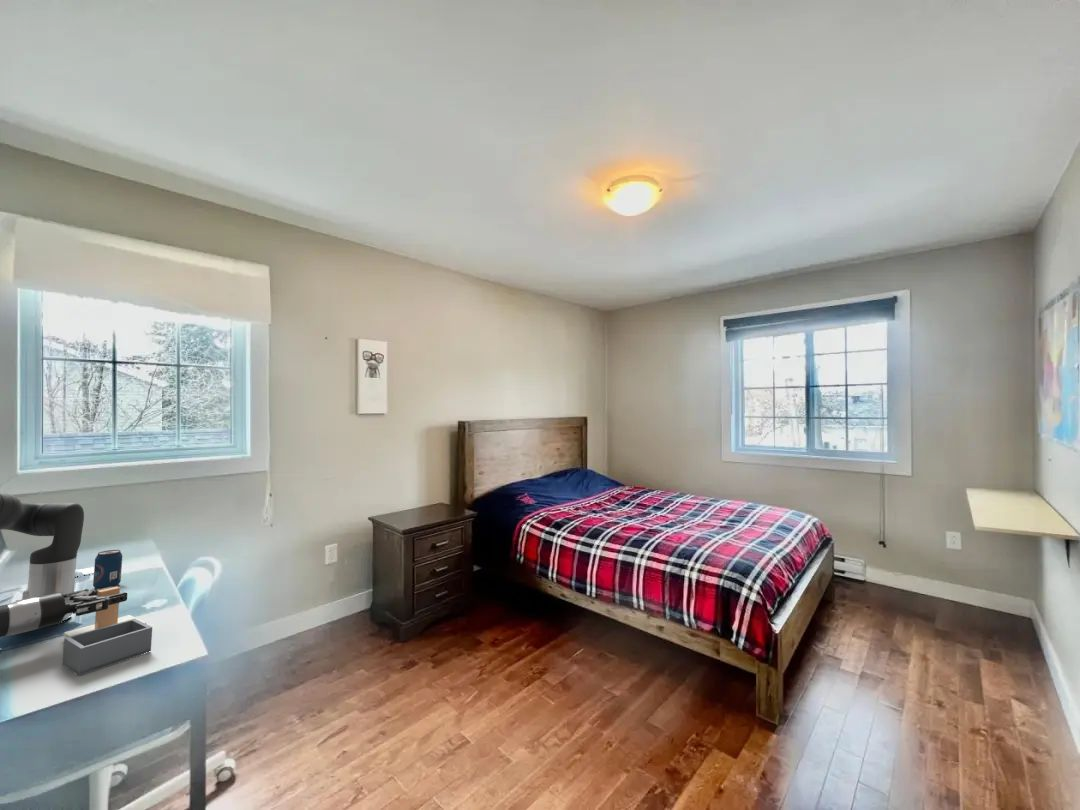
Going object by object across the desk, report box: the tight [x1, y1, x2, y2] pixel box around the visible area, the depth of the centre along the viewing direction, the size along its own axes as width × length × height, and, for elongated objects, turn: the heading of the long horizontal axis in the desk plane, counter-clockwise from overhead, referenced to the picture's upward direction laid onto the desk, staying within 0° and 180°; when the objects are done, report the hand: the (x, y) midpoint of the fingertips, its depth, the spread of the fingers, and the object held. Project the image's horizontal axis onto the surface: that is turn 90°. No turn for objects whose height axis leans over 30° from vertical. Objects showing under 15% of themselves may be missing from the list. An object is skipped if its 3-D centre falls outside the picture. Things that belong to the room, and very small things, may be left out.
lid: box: [63, 586, 147, 638], centre depth 121 cm, size 13×10×12 cm
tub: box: [62, 619, 153, 677], centre depth 109 cm, size 13×10×6 cm
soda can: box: [92, 549, 123, 590], centre depth 157 cm, size 7×7×12 cm
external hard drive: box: [76, 566, 95, 574], centre depth 170 cm, size 2×8×12 cm
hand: (119, 593), depth 124 cm, fingers open, 8 cm apart
